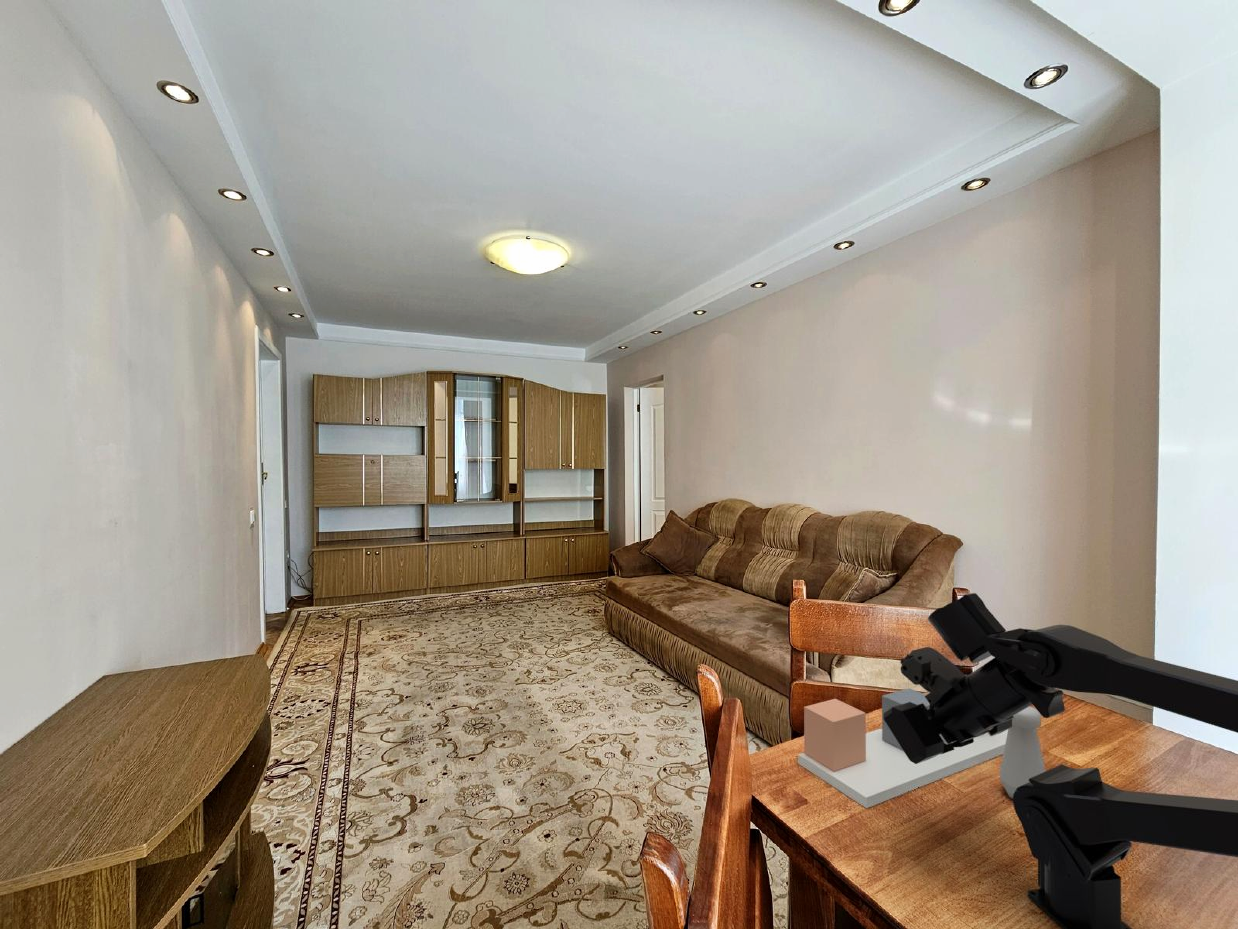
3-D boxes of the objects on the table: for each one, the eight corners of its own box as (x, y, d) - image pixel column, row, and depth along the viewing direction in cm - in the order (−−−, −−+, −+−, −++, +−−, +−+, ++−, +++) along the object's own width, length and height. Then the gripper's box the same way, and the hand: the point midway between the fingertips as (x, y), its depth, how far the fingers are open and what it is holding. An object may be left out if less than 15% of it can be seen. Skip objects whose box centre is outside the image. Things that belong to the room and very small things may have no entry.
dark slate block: (942, 746, 91) (942, 701, 91) (915, 756, 88) (914, 709, 88) (909, 731, 96) (909, 688, 96) (882, 740, 93) (882, 695, 93)
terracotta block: (865, 760, 86) (865, 713, 87) (833, 771, 83) (833, 722, 83) (835, 743, 92) (835, 698, 92) (804, 753, 89) (804, 706, 89)
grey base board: (950, 715, 106) (950, 707, 106) (1024, 745, 94) (1024, 736, 94) (798, 763, 89) (798, 754, 89) (866, 808, 77) (866, 797, 77)
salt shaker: (1058, 812, 76) (1057, 718, 76) (1011, 807, 77) (1010, 714, 77) (1035, 787, 82) (1034, 700, 82) (992, 783, 83) (991, 697, 83)
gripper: (987, 625, 76) (913, 678, 85) (896, 645, 67) (826, 701, 77) (1053, 704, 68) (965, 752, 78) (961, 737, 60) (875, 787, 70)
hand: (908, 745), depth 76 cm, fingers closed
